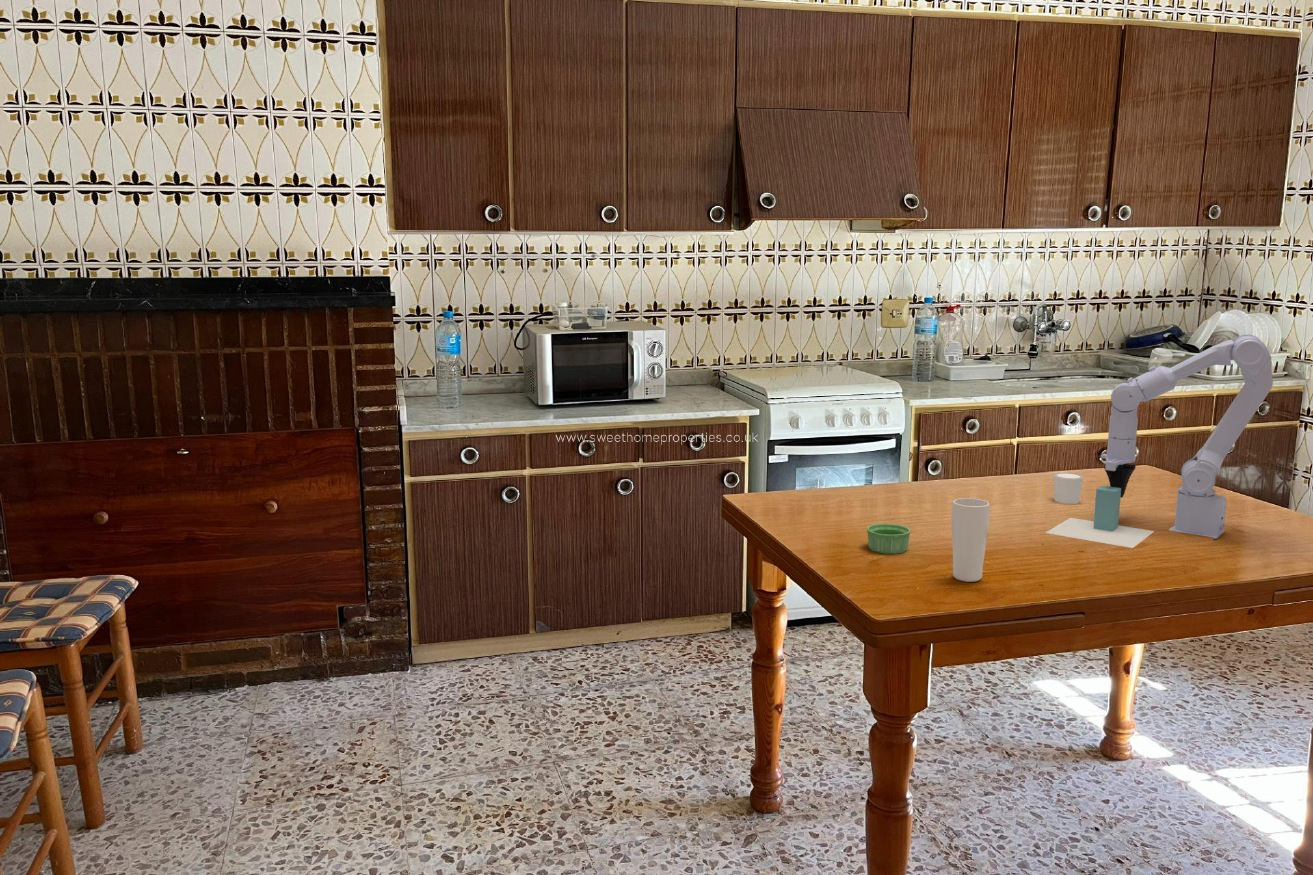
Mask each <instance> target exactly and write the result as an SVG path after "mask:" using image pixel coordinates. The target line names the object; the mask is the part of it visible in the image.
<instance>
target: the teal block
mask: <svg viewBox="0 0 1313 875" xmlns="http://www.w3.org/2000/svg"><path fill="white" fill-rule="evenodd" d="M1095 490H1096V492H1095V503H1094V515H1093V516H1094V517H1093V521H1094V529H1100V530H1106V531H1112V532H1113V531H1114V530H1116V529H1117V528H1118V525H1119V520H1120V506H1121V498H1120V497H1121V488H1116V487H1110V485H1109V486H1108V485H1101V486H1099V487H1097V488H1096V489H1095Z"/></svg>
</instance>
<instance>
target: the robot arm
mask: <svg viewBox="0 0 1313 875" xmlns="http://www.w3.org/2000/svg"><path fill="white" fill-rule="evenodd" d="M1231 361H1234V362H1235V364H1236V365H1237V367H1238V368H1239V370H1240V373H1241V376H1242V378H1243V381H1244V384H1243V386H1242V387H1241V388H1240V390H1239V391H1238V393H1237V395H1236V396H1235V397H1234V399H1233V401H1232V402H1231V403H1230V405H1229V407H1228V409H1227V410H1226V411H1225V413H1224V414H1223V415H1222V417H1221V419H1220V420H1219V421H1218V423H1217V424H1216V427H1215V428H1214V430H1212V432H1211V434H1210V436H1209V437H1208V439H1207V440H1206V442H1204V444H1203V446H1202V447H1201V448H1200V449H1199V450H1198V451H1197V452H1196V454H1195V455H1194V456H1193V457H1192V458H1191V459H1189V460H1187V461H1186V462H1184V463H1183V465H1182V466H1181V470H1180V476H1181V483H1182V485H1181V486H1179V487H1178V488H1177V494H1176V495H1177V496H1176V506H1175V508H1176V509H1175V516H1174V517H1175V518H1174V520H1175V521H1174V524H1173V526H1171V527H1170V528H1169V529H1168V531H1172V532H1178V533H1183V534H1190V535H1197V536H1203V537H1209V538H1212V539H1213V540H1216V539H1218V538H1219V537H1220V536H1222V534H1223V533H1224V532H1225V525H1226V524H1225V522H1226V515H1227V514H1226V513H1227V512H1226V511H1227V497H1226V496H1223V495H1219V494H1216V490H1215V489H1214V487H1215V485H1216V476H1217V474H1218V472H1220V469H1221V467H1222V464H1223V462H1224V460H1225V458H1226V456H1227V455H1228V453H1229V452H1230V450H1231V449H1232V447H1233V446H1234V444H1235V443H1236V442H1237V440H1238V439H1239V437H1240V436H1241V435H1242V433H1243V431H1244V430H1245V428H1246V427H1247V425H1248V424H1249V422H1250V421H1251V420H1252V418H1253V416H1254V415H1255V413H1256V412H1257V411H1258V409H1259V407H1260V406H1261V404H1263V402H1264V400H1265V399H1266V397H1267V396H1268V394H1269V393H1270V391H1271V390H1272V389H1273V388H1272V387H1273V384H1274V382H1273V371H1272V370H1273V369H1272V356H1271V354H1270V351H1269V350H1268V347H1267V345H1266V344H1265V343H1264V342H1263V341H1262V340H1261V339H1260V338H1259V337H1257V336H1255V335H1253V334H1241V335H1238V336H1237V337H1235V338H1234V339H1228V340H1225V341H1222V342H1220V343H1217V344H1215V345H1213V346H1211V347H1209V348H1207V349H1204V350H1203V351H1201V352H1199V353H1197V354H1194V355H1193V356H1191V357H1189V358H1187V359H1185V360H1182V361H1181V362H1179V363H1177V364H1175V365H1173V366H1172V367H1167V366H1163V365H1159V366H1157V367H1156V366H1155V365H1153V366H1151V367H1149V368H1148V370H1149V371H1147V372H1145V373H1142V374H1140V375H1138V376H1136V377H1134V378H1133V377H1129V378H1127V382H1128V383H1127V382H1122V383H1119V384H1117V385H1116V386H1115V387H1114V388H1113V389H1112V392H1111V394H1110V401H1111V404H1112V405H1111V407H1110V414H1111V415H1110V416H1109V424H1108V433H1107V434H1108V437H1107V438H1108V439H1107V448H1106V449H1107V450H1106V453H1103V454H1101V455H1100V458H1101V459H1105V464H1104V471H1105V473H1106V475H1107V477H1108V482H1109V487H1116V488H1121V497H1120V499H1121V498H1123V497H1124V495H1125V493H1126V490H1127V487H1128V484H1129V481H1130V478H1131V477H1132V475H1133V473H1134V471H1135V470H1136V466H1137V465H1135V464H1131V463H1136V461H1137V460H1136V458H1137V457H1136V446H1137V433H1138V423H1139V422H1138V421H1139V418H1138V407H1139V405H1140V403H1141V402H1144V403H1147V402H1148V401H1150V400H1154V399H1155V398H1157V397H1159V396H1161V395H1164V394H1166V393H1168V392H1170V391H1173V390H1174V389H1175V388H1176V385H1177V382H1178V381H1180V380H1182V379H1185V378H1187V377H1189V376H1192V375H1194V374H1196V373H1199V372H1202V371H1204V370H1205V369H1209V368H1210V367H1213V366H1230V367H1231V366H1232V362H1231Z"/></svg>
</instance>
